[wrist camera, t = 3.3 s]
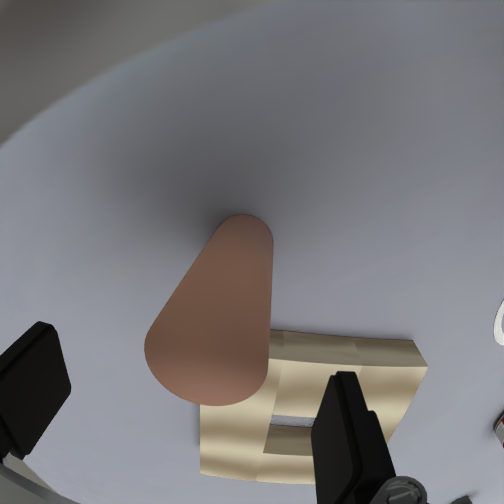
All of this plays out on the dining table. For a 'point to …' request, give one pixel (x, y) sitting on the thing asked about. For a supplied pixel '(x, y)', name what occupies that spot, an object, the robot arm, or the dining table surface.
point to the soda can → (500, 430)
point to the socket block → (304, 403)
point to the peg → (218, 319)
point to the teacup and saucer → (499, 325)
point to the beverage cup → (462, 500)
